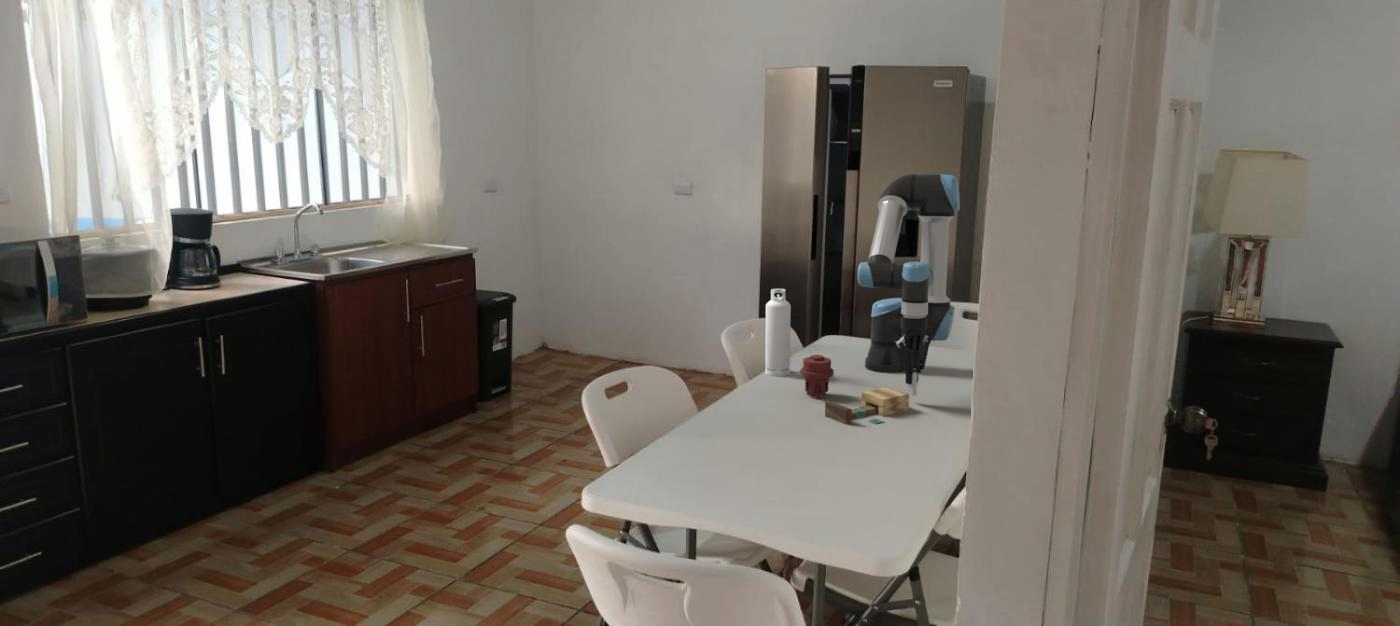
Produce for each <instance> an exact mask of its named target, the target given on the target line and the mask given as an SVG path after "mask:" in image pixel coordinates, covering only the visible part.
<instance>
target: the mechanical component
mask: <svg viewBox="0 0 1400 626" xmlns="http://www.w3.org/2000/svg"><path fill="white" fill-rule="evenodd" d="M802 363H803V364H802V367H801V368H800V371H799V372H800V376H802V377H803V378H804V384H805V385H804V391H805V392H806V395H807V396H811V397H813V398H814V399H820V398H821V397H822V396H825V395H826V394H827V393H828V391H829V379H830V378H832V377H833V376H834V369H833V368H832V360H831V358H829V357H825V356H824V355H821V354H813V355H812V354H811V355H810V356H807V357H804V358H803V362H802Z"/></svg>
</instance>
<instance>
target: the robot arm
mask: <svg viewBox="0 0 1400 626" xmlns="http://www.w3.org/2000/svg"><path fill="white" fill-rule="evenodd" d="M959 189H960V188H959V183H958V179H957V177H956V175H955V176H954V175H952V174H942V173H939V174H936V173H935V174H934V173H933V174H924V173H922V174H918V173H916V174H914V173H908V174H907V173H906V174H904V175H901V176H899V177H897V178H896V179H894V180H893V181H891V182H890V183H889V184H888V185H887V186H886V187H885V188H884V190H883V191H882V192H881V193H880V196H879V199H878V203H877V210H878V212H879V213H878V216H877V222H876V225H875V228H874V229H875V230H874V233H873V239H872V241H871V247H870V251H869V254H868V260H867V261H865V262H862V261H861V262H860V263H859V265H858V268H857V274H856V275H857V283H858V286H861V287H863V288H870V289H871V288H872V289H877V288H879V289H894V290H895V289H897V290H901V297H894V298H893V297H891V298H883V299H881V300H877V301H876V302H874V303H873V304H872V307H871V314H870V317H871V319H870V320H871V326H870V332H871V333H870V346H869V348H868V352H867V357H865V360H864V368H866V369H868V370H870V371H874V372H878V373H889V374H890V373H892V374H893V373H894V374H896V373H903V372H904V373H905V384H906V389H905V390H906V392H905V393H907V394H909V396H916V395H917V392H918V390H917V389H918V383H919V374H921V373H922V372H923V371H922V370H924V369H925V366H926V362H927V357H928V354H929V353H928V352H929V348H930V347H929V346H930V345H931V342H932V341H933V342H934V341H938V342H939V341H940V342H943V341H946V340H948V338H949V337H950V334H951V332H952V328H953V322H954V317H955V311H956V310H955V309H956V308H955V306H954V305H951V299H950V298H949V297H948V296H947V280H948V279H947V278H948V258H949V256H948V254H949V239H950V238H949V237H950V236H949V235H950V222H951V221H952V220H953V219H954V218H955V213H957V212H959V211H960V208H961V205H960V199H961V198H960V190H959ZM908 211H917V217H918V218H919V219H920V220H921V222H922V223H921V237H920V238H921V241H920V244H921V245H920V261H908V262H905V263H894V259H895V256H896V251H897V245H898V242H899V238H900V231H901V227H902V223H903V218H904V216H906V215H907V213H908Z"/></svg>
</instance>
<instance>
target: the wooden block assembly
mask: <svg viewBox="0 0 1400 626" xmlns="http://www.w3.org/2000/svg"><path fill="white" fill-rule="evenodd" d="M874 414H878V406H877V405H870V406H865V407H861V406H860V407H857V408H849V407H847V406H844V405H842V404H838V403H836V402H834V401H826V402H825V403H824V416H825V417H827V418H829V419H831V420H834V421H836V422H839V423H841V424H844V425H849V424H852V419H856V418H861V417H865V416H869V415H874ZM868 422H870V423H872V424H875V425H878V424H882V423H885V421H884V420H881V419H880V418H873V419H869V420H868Z"/></svg>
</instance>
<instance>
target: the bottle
mask: <svg viewBox="0 0 1400 626" xmlns="http://www.w3.org/2000/svg"><path fill="white" fill-rule="evenodd" d="M777 293H778V294H777ZM775 294H776V295H775ZM780 294H781V296H780ZM786 298H787V297H786V289H785V288H771V289H770V300H769V301H768V302H766V304H765V353H764V354H765V360H764V361H765V374H766V375H768V376H771V377H774V376H775V377H784V376H788V375H790V373H791V368H790V367H791V308H792V307H791V304H790V302H789V301H787V300H786Z"/></svg>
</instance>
